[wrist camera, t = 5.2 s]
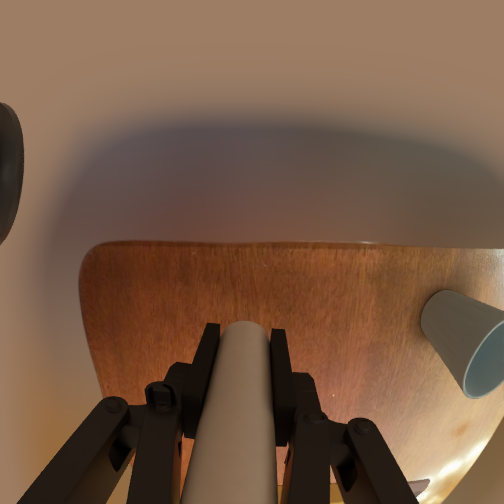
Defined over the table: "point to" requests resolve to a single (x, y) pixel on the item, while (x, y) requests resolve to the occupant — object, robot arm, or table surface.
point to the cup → (467, 340)
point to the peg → (236, 425)
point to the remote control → (418, 486)
